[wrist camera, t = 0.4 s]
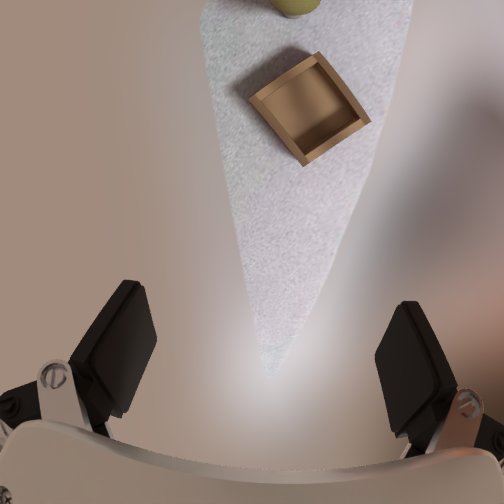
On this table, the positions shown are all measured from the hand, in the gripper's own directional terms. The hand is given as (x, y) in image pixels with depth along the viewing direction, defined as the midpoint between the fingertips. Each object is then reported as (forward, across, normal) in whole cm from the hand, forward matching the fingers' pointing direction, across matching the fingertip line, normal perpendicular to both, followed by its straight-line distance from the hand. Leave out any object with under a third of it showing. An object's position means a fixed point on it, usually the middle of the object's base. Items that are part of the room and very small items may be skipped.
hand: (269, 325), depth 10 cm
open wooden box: (+29, -4, -8) cm, 30 cm away
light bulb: (+29, -1, -21) cm, 36 cm away
